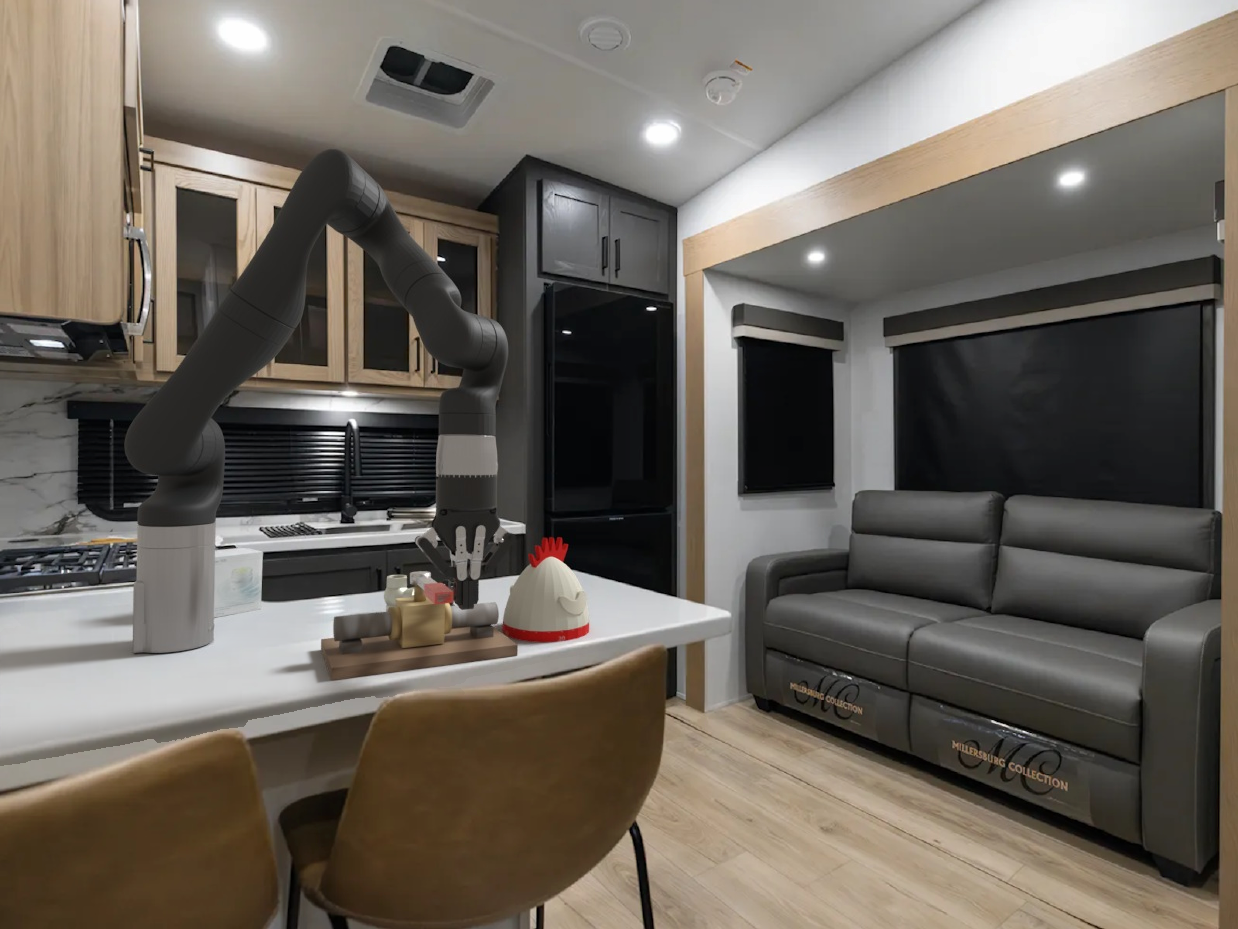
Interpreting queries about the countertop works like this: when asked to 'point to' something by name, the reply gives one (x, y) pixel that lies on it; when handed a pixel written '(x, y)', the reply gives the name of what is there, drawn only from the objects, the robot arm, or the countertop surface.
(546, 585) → the kitchen timer
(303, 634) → the countertop surface
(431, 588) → the valve lever
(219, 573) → the skincare box
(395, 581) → the valve
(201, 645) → the robot arm
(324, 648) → the valve pipe
